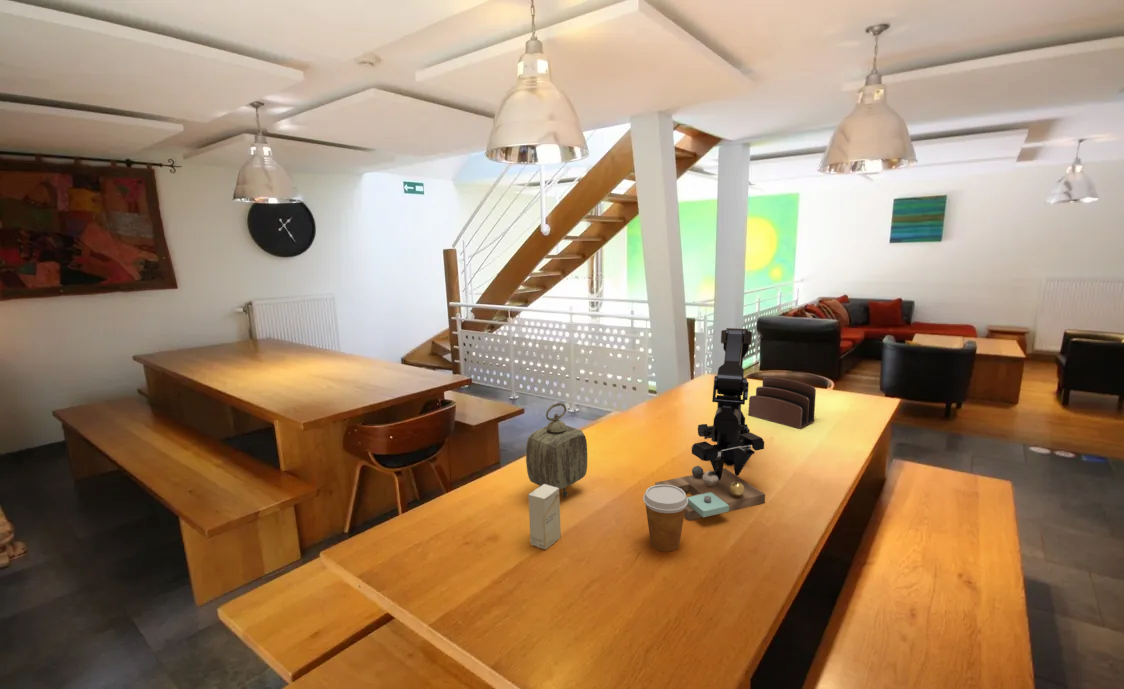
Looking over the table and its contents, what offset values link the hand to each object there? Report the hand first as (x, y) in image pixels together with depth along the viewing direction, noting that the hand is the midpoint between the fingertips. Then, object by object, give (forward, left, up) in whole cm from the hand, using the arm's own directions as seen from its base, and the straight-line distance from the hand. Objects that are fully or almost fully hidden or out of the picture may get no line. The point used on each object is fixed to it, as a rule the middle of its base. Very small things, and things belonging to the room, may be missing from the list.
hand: (727, 477), depth 138 cm
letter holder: (-50, -37, -4) cm, 63 cm away
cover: (+12, +9, -1) cm, 15 cm away
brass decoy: (+2, +7, 0) cm, 7 cm away
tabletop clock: (+41, -15, -4) cm, 44 cm away
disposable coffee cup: (+27, +15, -4) cm, 31 cm away
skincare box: (+51, +4, -4) cm, 52 cm away
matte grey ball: (+5, -6, 0) cm, 8 cm away
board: (+6, +1, -4) cm, 7 cm away
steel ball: (+5, 0, 0) cm, 5 cm away
